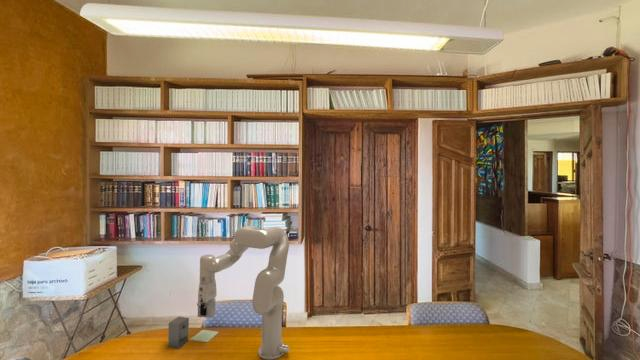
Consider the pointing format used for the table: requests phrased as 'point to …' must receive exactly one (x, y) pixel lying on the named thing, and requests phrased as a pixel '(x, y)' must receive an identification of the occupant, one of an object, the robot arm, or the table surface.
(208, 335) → the pad
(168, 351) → the table surface
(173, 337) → the block
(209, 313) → the medicine box
